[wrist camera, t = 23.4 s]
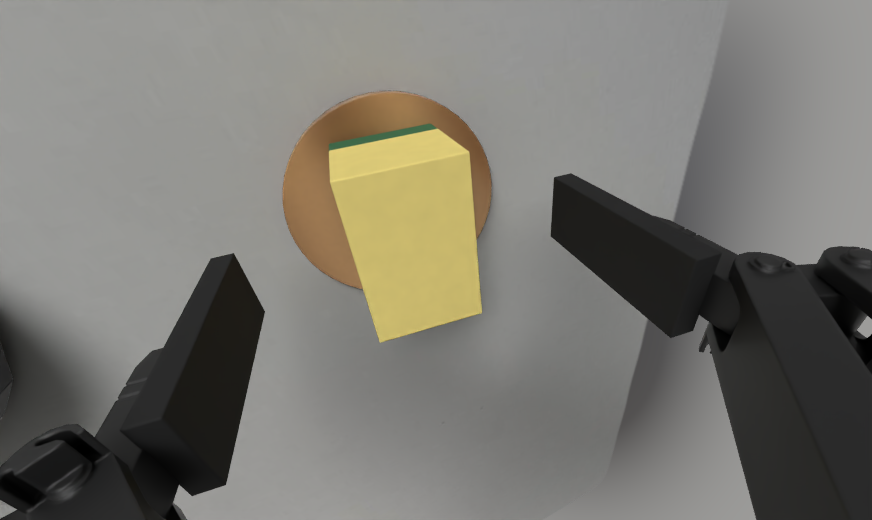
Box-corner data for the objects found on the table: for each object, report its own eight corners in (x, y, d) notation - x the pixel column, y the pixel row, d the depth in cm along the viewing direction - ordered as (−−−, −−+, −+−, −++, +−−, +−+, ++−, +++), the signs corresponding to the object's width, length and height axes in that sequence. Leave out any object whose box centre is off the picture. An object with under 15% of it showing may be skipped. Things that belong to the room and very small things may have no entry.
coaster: (404, 33, 14) (407, 33, 13) (520, 204, 19) (525, 208, 19) (232, 198, 15) (229, 203, 15) (385, 314, 21) (387, 320, 20)
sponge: (328, 143, 15) (329, 181, 11) (430, 122, 15) (469, 151, 11) (367, 277, 19) (379, 343, 14) (448, 255, 19) (482, 313, 15)
